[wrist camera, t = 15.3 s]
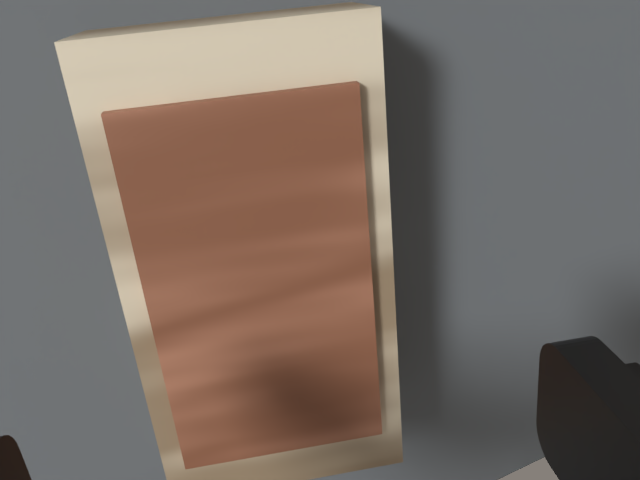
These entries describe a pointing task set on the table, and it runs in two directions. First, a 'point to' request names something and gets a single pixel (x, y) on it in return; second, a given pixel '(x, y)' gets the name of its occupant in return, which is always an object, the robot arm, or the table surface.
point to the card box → (249, 233)
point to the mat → (406, 218)
